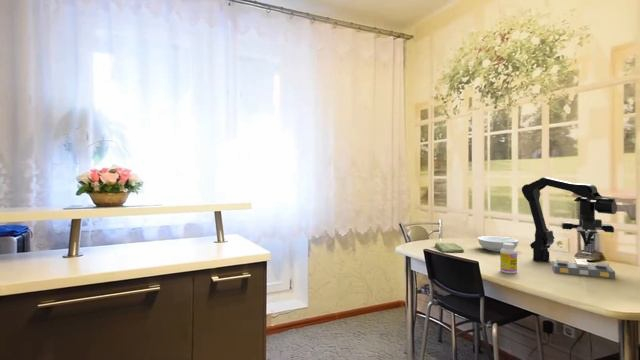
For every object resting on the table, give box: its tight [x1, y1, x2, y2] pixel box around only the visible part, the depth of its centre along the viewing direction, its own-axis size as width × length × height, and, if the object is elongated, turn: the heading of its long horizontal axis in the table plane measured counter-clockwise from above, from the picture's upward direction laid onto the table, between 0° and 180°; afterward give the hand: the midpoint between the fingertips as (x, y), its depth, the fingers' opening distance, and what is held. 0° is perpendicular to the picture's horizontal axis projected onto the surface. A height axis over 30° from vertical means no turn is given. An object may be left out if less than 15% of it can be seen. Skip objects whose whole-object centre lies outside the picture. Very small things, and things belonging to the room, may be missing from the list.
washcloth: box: [434, 242, 465, 253], centre depth 207 cm, size 13×18×3 cm
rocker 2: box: [574, 258, 589, 267], centre depth 155 cm, size 4×6×1 cm, turn 151°
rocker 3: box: [593, 262, 610, 267], centre depth 151 cm, size 4×6×1 cm, turn 151°
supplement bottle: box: [499, 243, 518, 275], centre depth 158 cm, size 7×7×13 cm
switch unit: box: [551, 260, 616, 280], centre depth 155 cm, size 21×10×3 cm, turn 61°
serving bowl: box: [477, 235, 519, 253], centre depth 202 cm, size 21×21×7 cm
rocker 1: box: [556, 258, 570, 264], centre depth 158 cm, size 4×6×1 cm, turn 151°
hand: (586, 245), depth 160 cm, fingers closed
